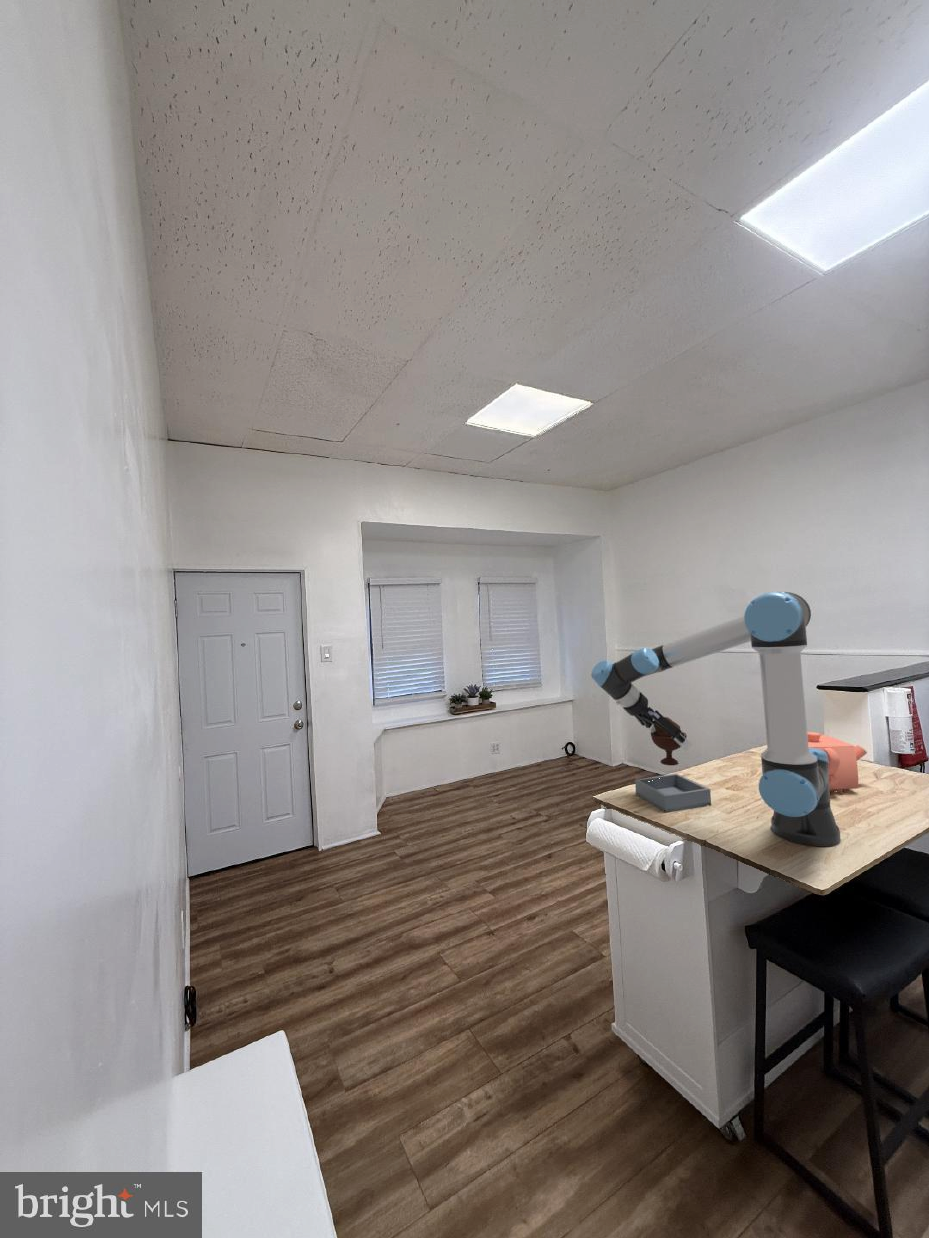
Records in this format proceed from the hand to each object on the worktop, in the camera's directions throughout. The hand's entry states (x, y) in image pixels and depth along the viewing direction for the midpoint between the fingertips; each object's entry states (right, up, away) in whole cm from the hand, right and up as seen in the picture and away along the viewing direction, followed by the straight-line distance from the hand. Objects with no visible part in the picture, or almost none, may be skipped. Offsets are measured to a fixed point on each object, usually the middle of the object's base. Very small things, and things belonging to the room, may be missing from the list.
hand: (676, 742), depth 157 cm
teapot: (+52, -16, +4) cm, 54 cm away
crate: (-2, -18, -1) cm, 18 cm away
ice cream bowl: (-2, -7, -1) cm, 7 cm away
